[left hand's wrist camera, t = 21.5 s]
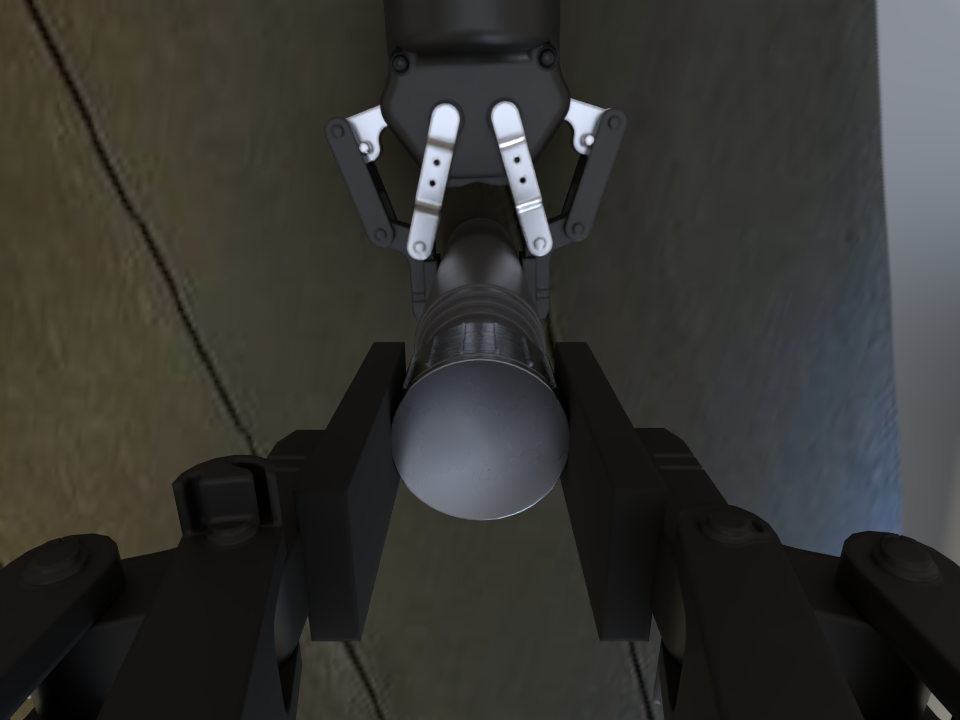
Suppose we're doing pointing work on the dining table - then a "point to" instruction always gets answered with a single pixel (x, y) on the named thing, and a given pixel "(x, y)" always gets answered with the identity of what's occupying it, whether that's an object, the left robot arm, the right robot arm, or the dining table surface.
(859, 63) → the dining table surface
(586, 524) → the left robot arm
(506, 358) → the cap
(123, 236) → the dining table surface
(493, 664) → the dining table surface
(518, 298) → the dark grey cylinder
